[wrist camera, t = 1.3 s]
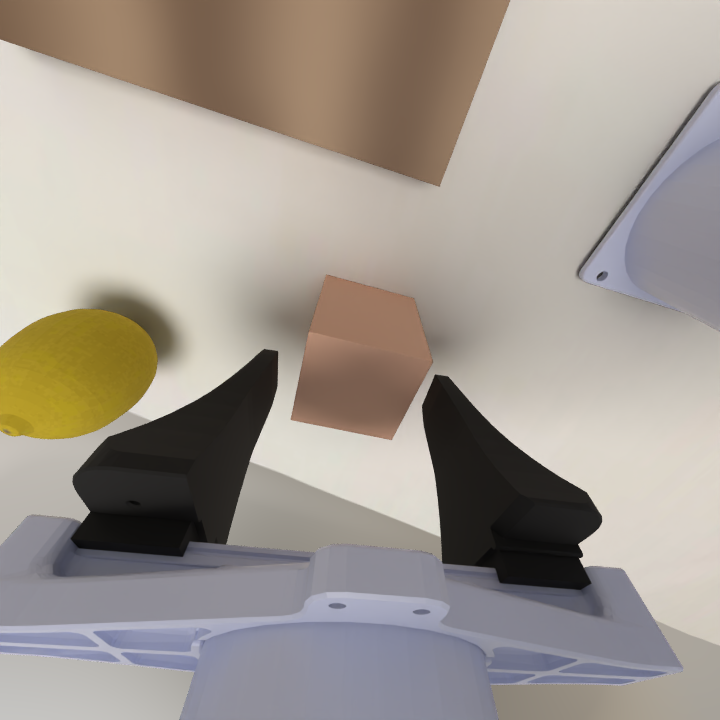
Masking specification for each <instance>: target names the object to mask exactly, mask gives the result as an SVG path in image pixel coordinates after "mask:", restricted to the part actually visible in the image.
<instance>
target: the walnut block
mask: <svg viewBox="0 0 720 720" xmlns="http://www.w3.org/2000/svg"><path fill="white" fill-rule="evenodd" d="M509 2H510V0H0V39H1V40H4V41H7V42H10V43H13V44H16V45H19V46H22V47H25V48H28V49H31V50H34V51H37V52H40V53H43V54H46V55H49V56H52V57H55V58H57V59H60V60H63V61H66V62H69V63H72V64H75V65H78V66H81V67H84V68H87V69H90V70H93V71H96V72H99V73H102V74H105V75H108V76H111V77H114V78H117V79H120V80H123V81H126V82H129V83H132V84H135V85H138V86H141V87H144V88H147V89H150V90H153V91H156V92H159V93H162V94H165V95H168V96H171V97H174V98H177V99H180V100H183V101H186V102H189V103H192V104H195V105H198V106H201V107H204V108H207V109H209V110H212V111H215V112H218V113H221V114H224V115H227V116H230V117H233V118H236V119H239V120H242V121H245V122H248V123H251V124H254V125H257V126H260V127H263V128H266V129H269V130H272V131H275V132H278V133H281V134H284V135H287V136H290V137H293V138H296V139H299V140H302V141H305V142H308V143H311V144H314V145H317V146H320V147H323V148H326V149H329V150H332V151H335V152H338V153H341V154H344V155H347V156H350V157H353V158H356V159H358V160H361V161H364V162H367V163H370V164H373V165H376V166H379V167H382V168H385V169H388V170H391V171H394V172H397V173H400V174H403V175H406V176H409V177H412V178H415V179H418V180H421V181H424V182H427V183H430V184H433V185H436V186H439V187H440V184H441V181H442V179H443V176H444V173H445V171H446V168H447V165H448V163H449V160H450V158H451V155H452V152H453V150H454V147H455V144H456V142H457V139H458V137H459V134H460V131H461V129H462V126H463V123H464V121H465V118H466V115H467V113H468V110H469V108H470V105H471V102H472V100H473V97H474V94H475V92H476V89H477V86H478V84H479V81H480V79H481V76H482V73H483V71H484V68H485V65H486V63H487V60H488V57H489V55H490V52H491V50H492V47H493V44H494V42H495V39H496V36H497V34H498V31H499V28H500V26H501V23H502V21H503V18H504V15H505V13H506V10H507V7H508V5H509Z"/></svg>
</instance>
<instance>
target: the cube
mask: <svg viewBox="0 0 720 720" xmlns="http://www.w3.org/2000/svg"><path fill="white" fill-rule="evenodd" d="M432 363H433V360H432V357H431V353H430V350H429V347H428V344H427V340H426V337H425V334H424V330H423V327H422V324H421V320H420V317H419V314H418V310H417V307H416V304H415V300H414V298H410V297H406V296H403V295H399V294H395V293H392V292H388V291H384V290H381V289H377V288H374V287H370V286H366V285H363V284H359V283H355V282H352V281H348V280H344V279H341V278H337V277H333V276H330V275H326V277H325V281H324V284H323V287H322V290H321V293H320V297H319V300H318V303H317V306H316V310H315V313H314V316H313V319H312V323H311V326H310V329H309V333H308V338H307V343H306V347H305V352H304V357H303V362H302V367H301V372H300V377H299V382H298V387H297V391H296V396H295V401H294V406H293V411H292V416H291V420H294V421H299V422H304V423H309V424H314V425H319V426H324V427H329V428H334V429H339V430H344V431H349V432H354V433H359V434H364V435H369V436H374V437H379V438H384V439H389V440H392V438H393V437H394V435H395V433H396V431H397V429H398V427H399V425H400V423H401V421H402V420H403V418H404V416H405V414H406V412H407V410H408V408H409V406H410V404H411V402H412V401H413V399H414V397H415V395H416V393H417V391H418V389H419V387H420V385H421V384H422V382H423V380H424V378H425V376H426V374H427V372H428V370H429V368H430V367H431V365H432Z"/></svg>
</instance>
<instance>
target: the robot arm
mask: <svg viewBox="0 0 720 720" xmlns="http://www.w3.org/2000/svg"><path fill="white" fill-rule="evenodd" d="M601 272H603V274H602V275H601V276H600V277H599V278H597V276H598V274H599V273H601ZM579 277H580V279H582V280H583V281H585V282H586V283H590V284H593V285H596V286H599V287H602V288H606V289H609V290H612V291H615V292H619V293H622V294H625V295H628V296H632V297H635V298H638V299H641V300H645V301H648V302H651V303H654V304H657V305H661V306H664V307H667V308H670V309H674V310H677V311H680V312H683V313H686V314H688V315H690V316H692V317H693V318H695V319H697V320H699V321H701V322H703V323H705V324H707V325H708V326H710V327H712V328H714V329H716V330H718V331H720V83H719V84H717V85H716V86H715V87H714V88H713V89H712V90H711V92H710V93H709V94H708V96H707V97H706V98H705V100H704V101H703V103H702V104H701V105H700V107H699V108H698V109H697V111H696V112H695V114H694V115H693V116H692V118H691V119H690V120H689V122H688V123H687V124H686V126H685V127H684V129H683V130H682V131H681V133H680V134H679V135H678V137H677V138H676V140H675V141H674V142H673V144H672V145H671V146H670V148H669V149H668V151H667V152H666V153H665V155H664V156H663V157H662V159H661V160H660V162H659V163H658V164H657V166H656V167H655V168H654V170H653V171H652V173H651V174H650V175H649V177H648V178H647V179H646V181H645V182H644V183H643V185H642V186H641V188H640V189H639V190H638V192H637V193H636V194H635V196H634V197H633V199H632V200H631V201H630V203H629V204H628V205H627V207H626V208H625V210H624V211H623V212H622V214H621V215H620V216H619V218H618V219H617V221H616V222H615V223H614V225H613V226H612V227H611V229H610V230H609V232H608V233H607V234H606V236H605V237H604V238H603V240H602V241H601V242H600V244H599V245H598V247H597V248H596V249H595V251H594V252H593V253H592V255H591V256H590V258H589V259H588V260H587V262H586V263H585V264H584V266H583V267H582V269H581V270H580V272H579ZM277 384H278V351H273V350H266V349H264V350H262V351H261V352H260V353H259V354H258V355H257V356H255V357H254V358H253V359H252V360H251V361H250V362H249V363H248V364H246V365H245V366H244V367H243V368H242V369H240V370H239V371H238V372H237V373H236V374H234V375H233V376H232V377H230V378H229V379H228V380H226V381H225V382H224V383H222V384H221V385H220V386H218V387H217V388H215V389H214V390H212V391H211V392H209V393H208V394H206V395H204V396H203V397H201V398H199V399H198V400H196V401H194V402H192V403H190V404H188V405H186V406H184V407H182V408H180V409H178V410H176V411H175V412H172V413H170V414H168V415H166V416H163V417H161V418H159V419H156V420H154V421H152V422H149V423H147V424H144V425H142V426H139V427H136V428H133V429H130V430H127V431H124V432H122V433H119V434H116V435H113V436H110V437H108V438H107V439H106V440H105V441H104V442H103V443H102V444H101V445H100V446H99V447H98V448H97V449H96V450H95V451H94V453H93V454H92V455H91V456H90V457H89V458H88V459H87V461H86V462H85V463H84V464H83V465H82V466H81V467H80V469H79V470H78V471H77V472H76V473H75V474H74V476H73V485H74V488H75V490H76V492H77V493H78V495H79V496H80V497H81V499H82V500H83V502H84V503H85V505H86V506H87V507H88V509H89V510H90V513H89V514H88V516H87V517H86V518H85V520H84V521H83V523H81V522H80V521H78V520H75V519H71V518H65V517H53V516H42V515H29V516H27V517H26V518H25V519H24V520H23V521H22V522H21V524H20V525H19V526H18V527H17V528H16V529H15V530H14V531H13V532H12V533H11V535H10V536H9V537H8V538H7V539H6V540H5V541H4V542H3V543H2V544H1V546H0V654H14V655H15V654H16V655H31V656H43V657H56V658H66V659H77V660H87V661H96V662H107V663H115V664H124V665H133V666H142V667H151V668H161V669H170V670H180V671H188V672H194V675H193V679H192V682H191V685H190V688H189V691H188V694H187V697H186V701H185V703H184V707H183V710H182V713H181V716H180V719H179V720H499V719H498V715H497V710H496V706H495V702H494V698H493V693H492V689H491V685H502V684H503V685H508V684H596V685H628V684H632V683H636V682H640V681H645V680H649V679H653V678H657V677H661V676H666V675H670V674H674V673H679V672H682V671H683V667H682V665H681V663H680V661H679V660H678V658H677V657H676V655H675V653H674V652H673V650H672V648H671V647H670V645H669V643H668V642H667V640H666V638H665V637H664V635H663V634H662V632H661V630H660V629H659V627H658V625H657V624H656V622H655V620H654V619H653V617H652V615H651V614H650V612H649V611H648V609H647V607H646V606H645V604H644V602H643V601H642V599H641V597H640V596H639V594H638V592H637V591H636V589H635V588H634V586H633V584H632V583H631V581H630V579H629V578H628V576H627V574H626V573H625V571H624V570H623V569H621V568H611V567H600V566H589V567H585V568H583V566H582V564H581V562H580V560H579V558H581V557H583V553H582V551H581V549H580V547H579V545H578V544H579V543H580V542H582V541H583V540H585V539H586V538H587V537H589V536H590V535H591V534H593V533H594V532H595V531H596V530H597V529H598V528H599V527H600V525H601V523H602V516H601V514H600V513H599V511H598V510H597V508H596V506H595V505H594V503H593V502H592V500H591V498H590V497H589V495H588V494H587V492H585V491H583V490H582V489H580V488H578V487H576V486H575V485H573V484H571V483H569V482H568V481H566V480H564V479H563V478H561V477H559V476H558V475H556V474H555V473H553V472H551V471H550V470H548V469H547V468H545V467H544V466H542V465H541V464H539V463H538V462H537V461H535V460H534V459H532V458H531V457H530V456H528V455H527V454H526V453H524V452H523V451H522V450H520V449H519V448H518V447H517V446H515V445H514V444H513V443H512V442H510V441H509V440H508V439H507V438H506V437H505V436H503V435H502V434H501V433H500V432H499V431H498V430H497V429H496V428H495V427H494V426H492V425H491V424H490V423H489V421H488V420H487V419H486V418H485V417H484V416H483V415H482V414H481V413H480V412H479V411H478V410H477V409H476V408H475V407H474V406H473V405H472V403H471V402H470V401H469V400H468V399H467V398H466V397H465V395H464V394H463V393H462V392H461V391H460V390H459V388H458V387H457V386H456V385H455V384H454V383H453V382H452V380H451V379H450V378H449V377H448V376H441V375H435V376H434V379H433V381H432V383H431V386H430V388H429V391H428V393H427V395H426V398H425V400H424V403H423V405H422V412H423V423H424V429H425V434H426V438H427V442H428V447H429V451H430V455H431V460H432V464H433V468H434V473H435V480H436V488H437V496H438V506H439V516H440V530H441V544H442V561H440V560H439V559H438V558H437V557H435V556H434V555H433V554H432V553H428V552H423V551H418V550H409V549H398V548H387V547H375V546H365V545H354V544H331V545H328V546H325V547H321V548H319V549H318V550H317V551H316V552H315V553H314V552H304V551H293V550H281V549H270V548H258V547H247V546H236V545H226V543H227V539H228V535H229V531H230V527H231V523H232V520H233V516H234V513H235V509H236V505H237V502H238V498H239V495H240V491H241V488H242V485H243V481H244V478H245V474H246V471H247V468H248V465H249V461H250V458H251V455H252V452H253V450H254V447H255V445H256V442H257V440H258V438H259V435H260V433H261V431H262V428H263V426H264V424H265V421H266V419H267V416H268V414H269V412H270V409H271V407H272V404H273V400H274V397H275V393H276V390H277Z"/></svg>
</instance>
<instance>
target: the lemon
mask: <svg viewBox="0 0 720 720" xmlns="http://www.w3.org/2000/svg"><path fill="white" fill-rule="evenodd" d="M157 362H158V357H157V353H156V348H155V345H154V343H153V341H152V339H151V338H150V336H149V335H148V334H147V333H146V331H145V330H144V329H143V328H142V327H140V326H139V325H138V324H137V323H135V322H134V321H132V320H130V319H129V318H127V317H124V316H122V315H120V314H117V313H114V312H109V311H105V310H100V309H75V310H70V311H66V312H61V313H57V314H54V315H50V316H47V317H45V318H42V319H40V320H38V321H36V322H34V323H32V324H30V325H29V326H27V327H25V328H24V329H22V330H21V331H20V332H18V333H17V334H15V335H14V336H13V337H11V338H10V339H9V340H8V341H6V342H5V343H4V344H3V345H2V346H1V347H0V431H1V432H3V433H5V434H7V435H10V436H21V435H25V436H29V437H33V438H40V439H64V438H73V437H78V436H81V435H85V434H88V433H91V432H94V431H96V430H98V429H101V428H102V427H105V426H106V425H108V424H110V423H111V422H113V421H114V420H116V419H117V418H119V417H120V416H121V415H123V414H124V413H125V412H127V411H128V410H129V409H131V408H132V407H133V406H134V405H135V404H136V403H137V402H138V401H139V400H140V399H141V398H142V397H143V395H144V394H145V392H146V391H147V389H148V388H149V386H150V384H151V383H152V381H153V379H154V377H155V374H156V370H157Z"/></svg>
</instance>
